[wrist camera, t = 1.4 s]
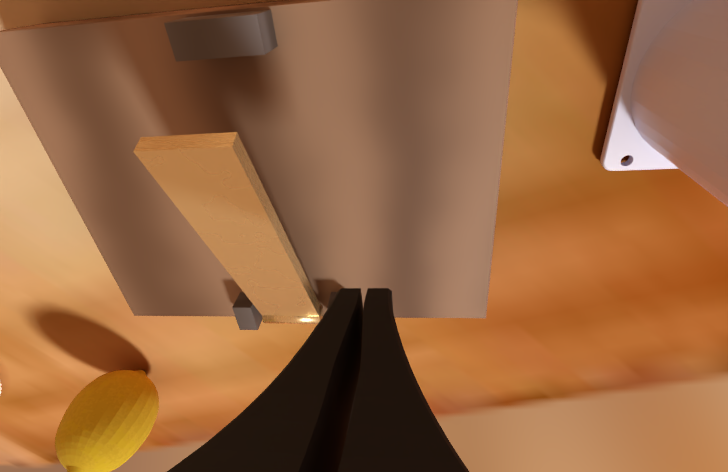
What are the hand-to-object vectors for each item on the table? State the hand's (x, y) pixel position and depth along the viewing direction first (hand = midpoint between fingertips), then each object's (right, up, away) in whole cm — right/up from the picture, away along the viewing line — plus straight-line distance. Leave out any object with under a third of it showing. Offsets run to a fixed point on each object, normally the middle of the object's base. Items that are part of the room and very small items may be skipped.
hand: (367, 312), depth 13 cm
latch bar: (-5, +2, +5) cm, 7 cm away
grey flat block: (-4, +6, +9) cm, 11 cm away
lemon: (-17, -8, +20) cm, 28 cm away
